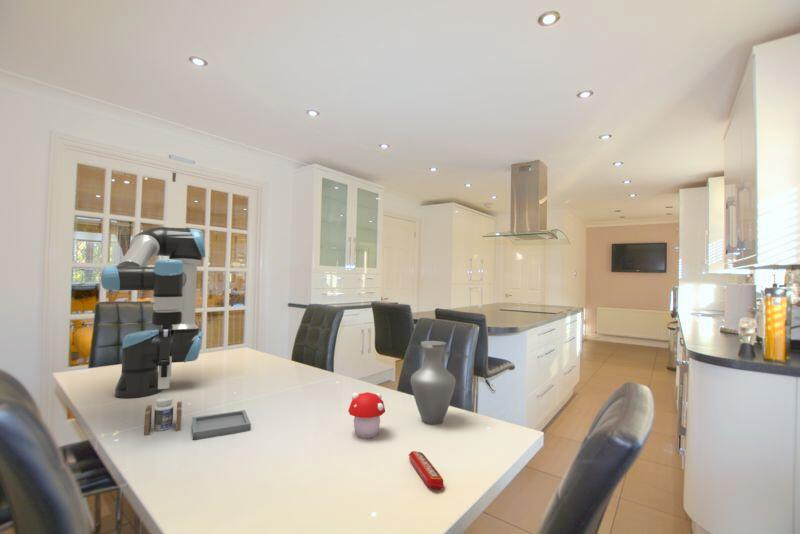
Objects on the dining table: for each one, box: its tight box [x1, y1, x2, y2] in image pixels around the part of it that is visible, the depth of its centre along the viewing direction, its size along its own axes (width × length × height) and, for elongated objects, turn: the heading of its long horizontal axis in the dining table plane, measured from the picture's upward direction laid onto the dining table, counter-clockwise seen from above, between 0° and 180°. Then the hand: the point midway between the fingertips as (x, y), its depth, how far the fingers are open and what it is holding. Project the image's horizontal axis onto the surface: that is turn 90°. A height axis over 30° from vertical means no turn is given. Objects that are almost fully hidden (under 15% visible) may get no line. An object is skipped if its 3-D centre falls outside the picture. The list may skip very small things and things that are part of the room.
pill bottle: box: [153, 397, 174, 432], centre depth 113 cm, size 5×5×8 cm
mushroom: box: [347, 391, 386, 439], centre depth 111 cm, size 11×11×12 cm
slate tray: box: [191, 409, 252, 441], centre depth 114 cm, size 13×15×2 cm
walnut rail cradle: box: [143, 401, 183, 436], centre depth 113 cm, size 8×9×6 cm
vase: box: [410, 340, 457, 425], centre depth 123 cm, size 14×14×25 cm
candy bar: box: [408, 450, 445, 490], centre depth 89 cm, size 16×4×3 cm, turn 17°
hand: (164, 382), depth 113 cm, fingers open, 13 cm apart
